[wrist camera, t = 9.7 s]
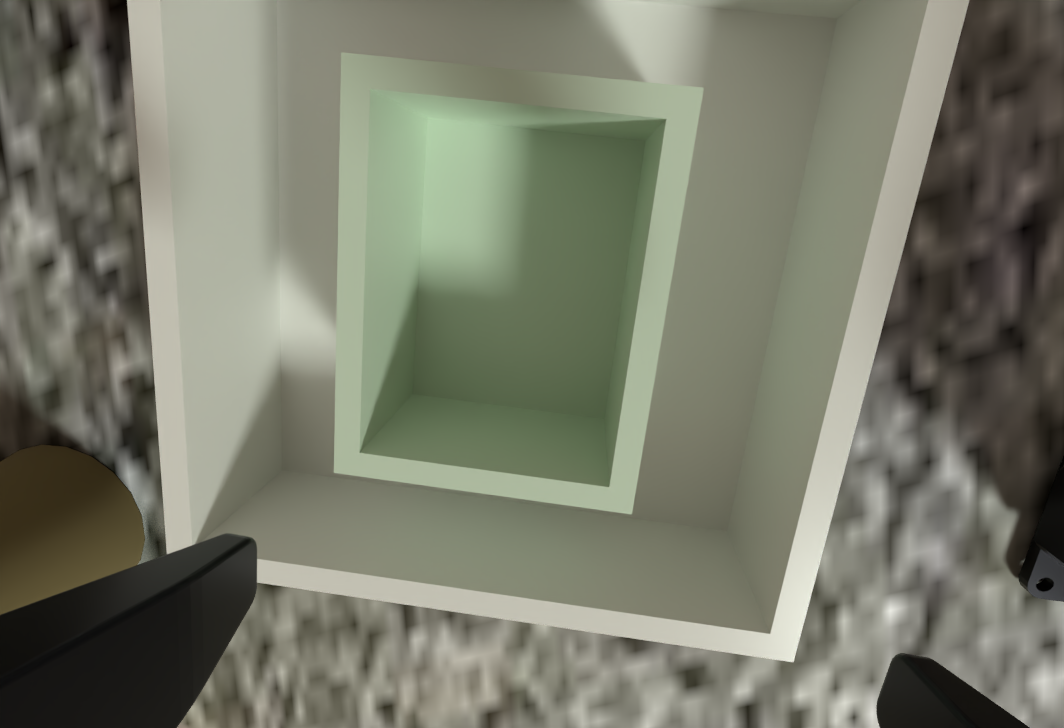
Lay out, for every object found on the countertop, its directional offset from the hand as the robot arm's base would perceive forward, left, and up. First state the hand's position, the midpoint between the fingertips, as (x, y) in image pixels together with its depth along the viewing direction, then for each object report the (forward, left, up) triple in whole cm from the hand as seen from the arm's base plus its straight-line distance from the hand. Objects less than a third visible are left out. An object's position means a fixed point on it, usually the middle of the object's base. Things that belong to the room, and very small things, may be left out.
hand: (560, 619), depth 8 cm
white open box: (+2, -3, -11) cm, 12 cm away
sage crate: (+2, -3, -10) cm, 11 cm away
